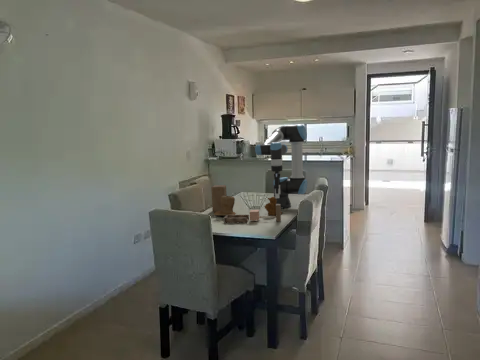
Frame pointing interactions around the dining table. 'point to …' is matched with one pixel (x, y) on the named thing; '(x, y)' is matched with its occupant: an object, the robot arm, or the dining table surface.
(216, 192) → the wooden block
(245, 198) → the dining table surface
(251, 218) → the corded block
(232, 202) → the brown boot
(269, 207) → the stuffed squirrel
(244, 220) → the walnut lane
